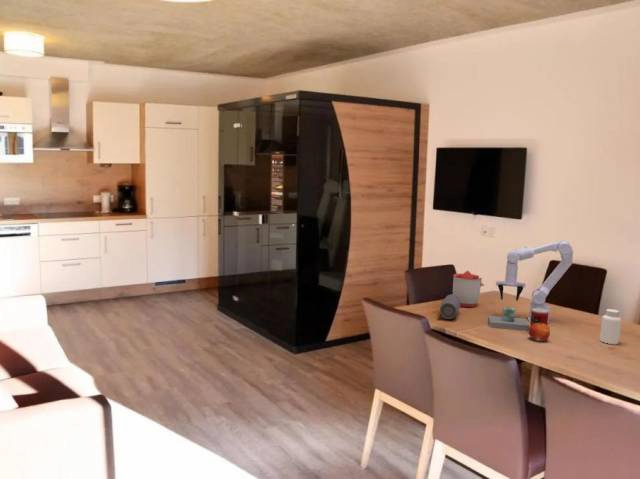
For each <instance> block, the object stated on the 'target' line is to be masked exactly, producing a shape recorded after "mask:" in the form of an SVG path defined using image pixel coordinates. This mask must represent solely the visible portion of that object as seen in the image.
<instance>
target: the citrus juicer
mask: <svg viewBox="0 0 640 479" xmlns="http://www.w3.org/2000/svg"><path fill="white" fill-rule="evenodd" d="M482 279H483V278H482V277H480V276H479V275H477V274H472V273H471V272H470V271H469V270H466V271H464V273H454V274H453V282H452V294H455V295H457V296H458V297H459V299H460V302H461V303H460V307H462V308H475V307H476V306H477V304H479V299H480V295H481V287H484V286H485V284H484V283H483V282H482Z"/></svg>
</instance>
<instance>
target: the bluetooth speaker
mask: <svg viewBox="0 0 640 479" xmlns="http://www.w3.org/2000/svg"><path fill="white" fill-rule="evenodd" d="M460 303H461V302H460V299H459V297H458V296H457V295H455V294H453V293H451V294H448V295H446V297H445V298H444V299H443V300H442V302H441V304H440V307H439V314H440V315H441V316H442V317H443V318H444V319H448V320H451V319H453V318H455V317H456V316H457V314H458V313H459V311H460Z"/></svg>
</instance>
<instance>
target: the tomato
mask: <svg viewBox="0 0 640 479" xmlns="http://www.w3.org/2000/svg"><path fill="white" fill-rule="evenodd" d="M550 334H551V329H550V327H549V325H546V324H544V323H534V324H532V325H531V326H530V325H529V331H528V335H529V336H530V337H531V339H533V340H534V341H537V342H544V341H547V340H548V339H549V337H550Z"/></svg>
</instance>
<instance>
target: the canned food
mask: <svg viewBox="0 0 640 479" xmlns="http://www.w3.org/2000/svg"><path fill="white" fill-rule="evenodd" d="M548 314H549V311H548V310H546V309H541V308H533V309H532V311H531V322H530V321H529V322H530V323H529V327H530V326H531V325H532V324H534V323H544V324H546V325H547V326H549V325H548V324H549V323H548Z"/></svg>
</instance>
